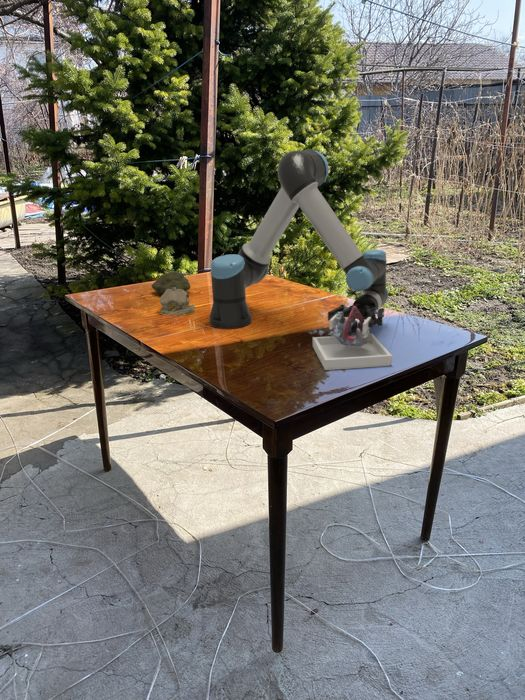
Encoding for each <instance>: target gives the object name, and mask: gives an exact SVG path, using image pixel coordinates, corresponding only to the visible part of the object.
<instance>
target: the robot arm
mask: <svg viewBox="0 0 525 700" xmlns="http://www.w3.org/2000/svg"><path fill="white" fill-rule="evenodd" d="M329 169H330V167H329V163H328V159H327V158H326V157H325V155H323V154H322V153H321V152H320V151H317V150H314V149H305V150H292V151H289V152H287V153H286V154H285V155H284V156H282V158H281V159H280V160H279V162H278V166H277V178H278V181H279V183H280V188H279V190H278V193H277V194H276V196H275V198H274V199H273V201H272V203H271V205H270V206H269V207H268V210H267V211H266V213H265V215H264V217H263V218H262V220H261V222H260V224H259V225H258V227H257V228H256V230H255V232H254V234H253V236H252V237H251V240H249V242H247V243H244V244H243V245H242V246H241V248H240V249H239V252H238V254H234V253H233V254H232V253H231V254H225V255H220V256H217V257H215V258H214V259H213V260H212V261H211V263H210V275H211V276H210V277H211V290H212V306H211V309H210V314H209V325H210V326H211V325H212V327H213V326H214V328H218V329H225V330H226V329H227V330H228V329H237V328H238V329H239V328H243V327H246V326H248V324H249V325H250V324H251V323H252V321H253V319H252V314H251V310H250V309H249V305H248V302H247V297H246V288H248V287H250V286H252V285H255V284H257V283H260V282H261V281H262V280H263V279H265V278H266V276H267V275H268V272H269V268H270V267H269V265H270V263H271V254H272V252H273V250H274V249H275V248H276V245H277V244H278V242H279V241H280V239H281V237H282V235H283V234H284V233H285V230H286V229H287V227H288V226H289V225H290V223H291V221H292V219H293V218H294V216H295V214H297V211H298V210H299V208H300V210H301V211H302V212H303V214H304V215H305V217H306V218H307V219H308V221H309V223H310V224H311V226H312V227H313V228H314V230H315V232H316V233H317V234H318V235H319V238H320V239H321V240H322V242H323V243H324V245H326V247H327V249H328V250H329V252H330V253H331V255H332V256H333V257H334V259H335V261H337V263H338V265H339V266H340V267H341V269H342V271H343V272H344V274H345V275H346V276H345V282H346V285H347V287H348V288H349V289H350V290H352V291H355V292H362V294H360V295H359V296H357V298H356V299H355V300H354V302H353V303H352V304H351V305H349V306H346V305H345V304H340V306H338V307H336V308H334V309H332V310H330V311H328V312H327V320H328V321H329V324H328V325H329V327H328V329H329V330H333V329H334V328H335V327H337V324H338V320H337V319H336V318H335V317H336V315H337V314H338V313H337V312H343V314H344V315H343V316H344V317H349V315H350V312H351V311H352V308H353V306H356V307H357V308H358V310H359V312H360V313H361V314H362V316H363V318H364V323H363V333H366V331H367V330H368V329H370V328H373V327H375V326H376V325H378V326H379V327H380V326H383V318H384V317H385V308H384V307H383V306H384V305H385V304H386V302H387V300H388V298H389V290H388V288H387V262H388V260H387V253H386V251H385V250H383V249H369V250H365V251H363V252H362V251H361V250H360V248H359V247H358V246H357V244H356V243H355V241H354V240H353V238H352V237H351V235H350V233H348V230H346V228H345V226H344V225H343V224H342V222H341V221H340V219H339V218H338V216H337V215H336V213H335V212H334V211H333V209H332V208H331V205H329V203H328V201H327V200H326V198H325V197H324V196H323V194H322V193H321V191H320V190H319V189H318V187H320V186H322V184H323V183H324V182H325V181H326V180H327V178H328V177H329V171H330V170H329ZM356 315H357V314H356ZM351 318H352V316H351Z"/></svg>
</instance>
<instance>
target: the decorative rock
mask: <svg viewBox="0 0 525 700" xmlns="http://www.w3.org/2000/svg"><path fill="white" fill-rule="evenodd" d="M173 287H176V289H183V290H184V291H185V292H188V291H189V290H190V289H191V284H190V282H189V279H188V278H186V277H185V276H184V274H182V273H181V272H180V271H177V270H173V271H168V272H166V273H163V274H161V275H159V277H158V278H157V279H156V280H155V281H154V282H153V283H152V284H151V288H152V289H153V290H154V291H155V292H156V293H158V294H164V292H165V291H166V290H167V289H172V288H173Z"/></svg>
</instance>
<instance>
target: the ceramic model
mask: <svg viewBox="0 0 525 700" xmlns="http://www.w3.org/2000/svg"><path fill="white" fill-rule="evenodd" d="M190 303H191V300H190V295H189V293H188V291H184V290H183V289H176V287H173V288H172V289H167V290H166V291H165V292H164V293H162V295H161V296H160V297H159V304H160V305H161V308H160V310H159V314H160V313H162V314H166V315H183V314H190V313H192V314H194V313H195V308H196V307H195V305H194V304H192V305H190ZM190 315H191V314H190ZM183 316H184V315H183Z"/></svg>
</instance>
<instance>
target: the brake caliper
mask: <svg viewBox="0 0 525 700" xmlns="http://www.w3.org/2000/svg"><path fill="white" fill-rule="evenodd" d="M337 313H338V314H337V315H336V317H335V318H336V319H337V320H338V324H337V325H336V329H337V332H336V331H335V332H332V333H331V336H334V337H335V338H336V339H337V340H338V341H339V342H340V343H341V344H342V345H351V346H356V347H360V346H362V345H364V344H366V343H367V342H368V341H369V340H370V338H371V334H372V333H371V329H370V328H369V329H368V330H367V331H366V333H363V323H364V322H365V320H364V318H363V316H362V314H361V313H360V312H359V310H358V308H357V307H356V306H353V308H352V311H351V312H350V315H349V317H344V316H343V315H344V314H343V312H337ZM356 314H357V315H356ZM351 316H352V318H351ZM357 320H358V321H357Z"/></svg>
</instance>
